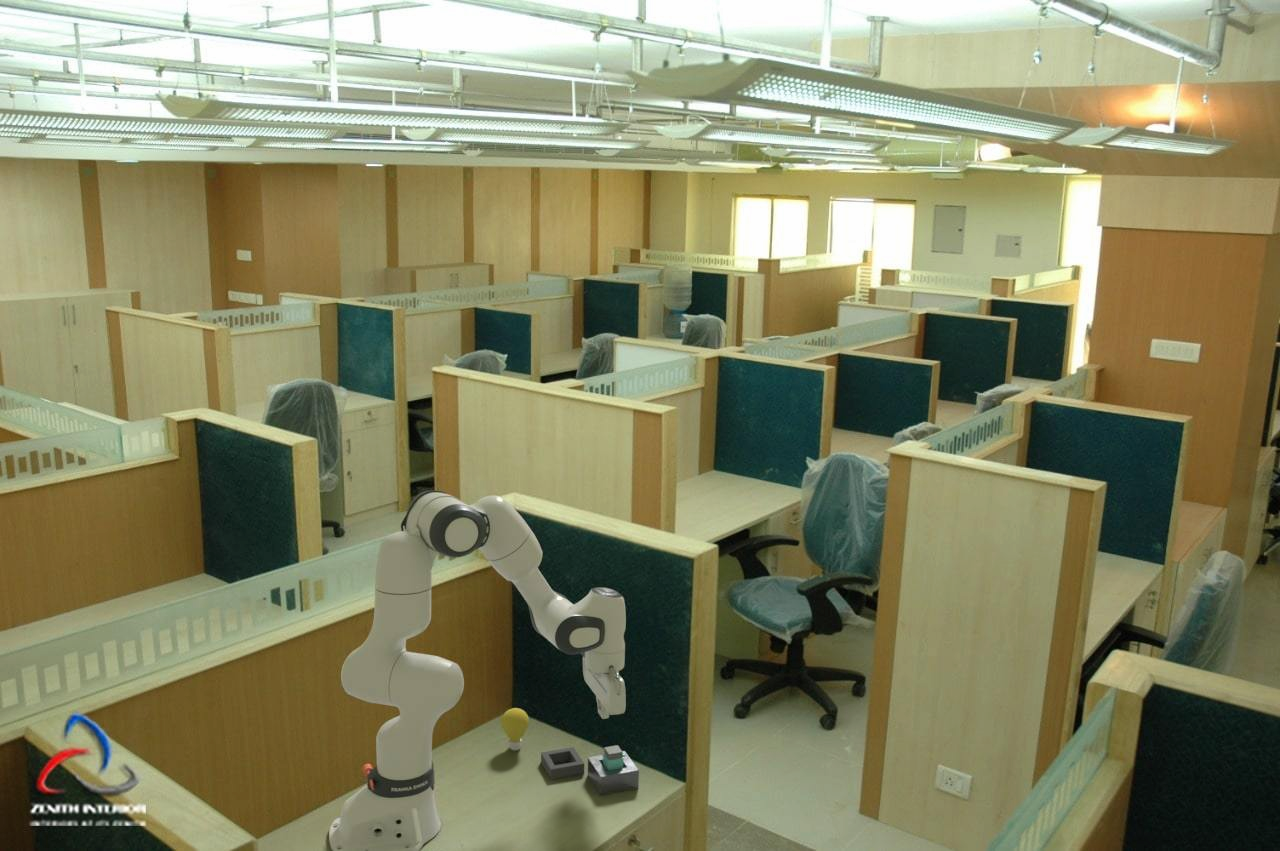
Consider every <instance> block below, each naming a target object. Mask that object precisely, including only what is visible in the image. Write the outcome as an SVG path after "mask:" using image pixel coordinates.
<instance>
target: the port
mask: <svg viewBox="0 0 1280 851" xmlns="http://www.w3.org/2000/svg"><path fill="white" fill-rule="evenodd" d="M621 751H622V757H623V768H620V769H615V770H609V771H606V770H605V768H604V767H603V754H599V755H595V756H589V757H587V776H588V778H589V780H590V781H591V783H592V784H593V786H594V787H595V789H596V791H597V792H598V794H599V795H600V796H604V795H610V794H611V795H612V794H616V793H621V792H626V791H631V790H632V791H633V790H638V789H639V777H640V776H639V773H640V772H639V768H638V767H637V766H636V764H635V763H634V762H633V760H632V759H631V757H630V756H629V755H628V753H627V752H626V751H625V750H621Z"/></svg>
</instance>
